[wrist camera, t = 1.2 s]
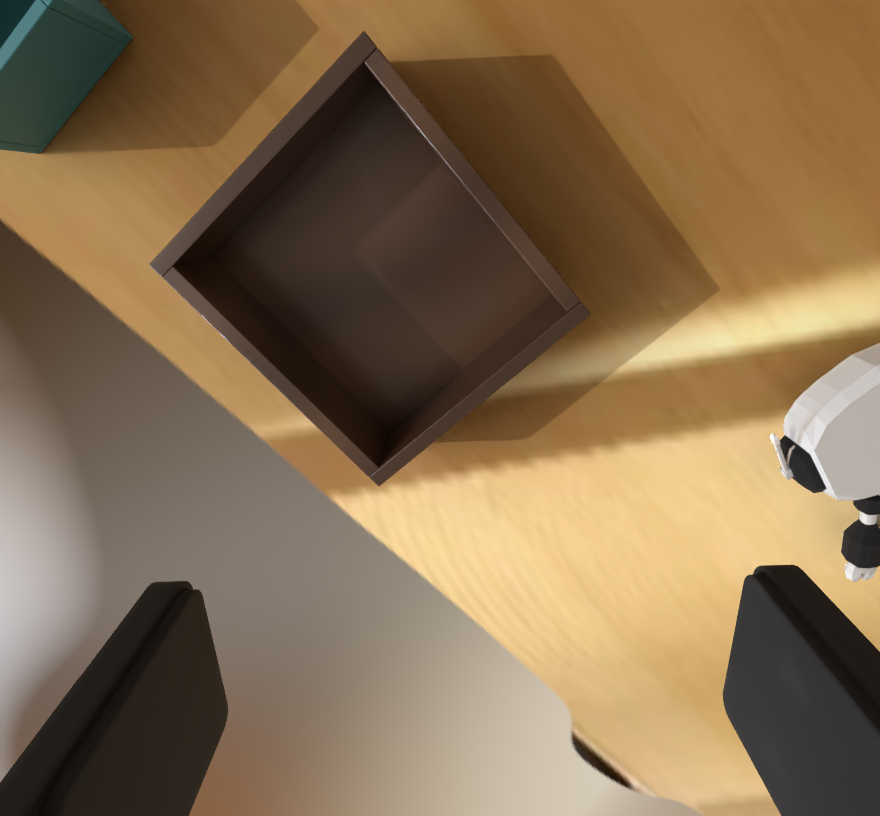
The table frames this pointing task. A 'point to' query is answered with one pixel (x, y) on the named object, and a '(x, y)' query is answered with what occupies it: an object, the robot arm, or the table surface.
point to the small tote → (51, 65)
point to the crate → (370, 268)
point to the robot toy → (841, 450)
